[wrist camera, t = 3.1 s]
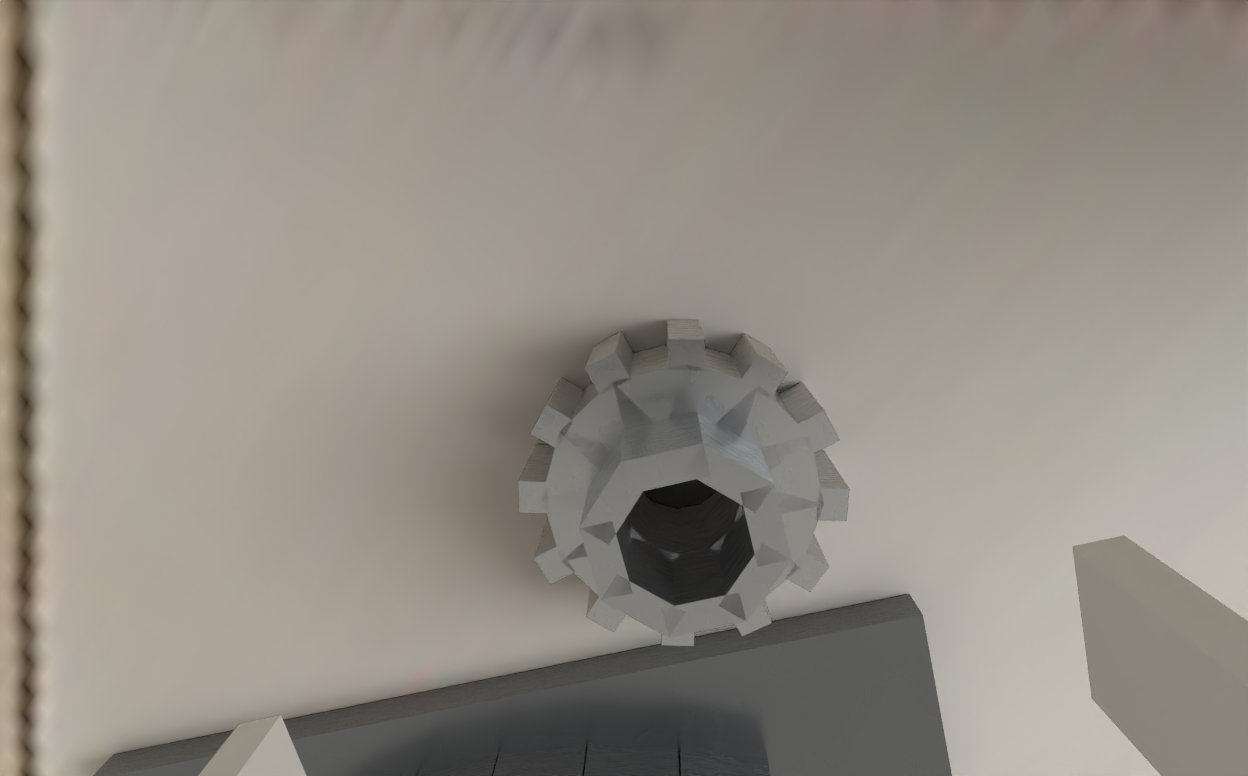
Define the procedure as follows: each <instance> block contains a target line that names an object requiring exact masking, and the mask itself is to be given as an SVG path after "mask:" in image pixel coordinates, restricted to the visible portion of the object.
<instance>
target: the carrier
mask: <svg viewBox="0 0 1248 776" xmlns="http://www.w3.org/2000/svg"><path fill="white" fill-rule="evenodd" d="M283 721H284V724H285V726H286V728H287V731H288V733H289V736H290V738H291V740H292V743H293V745H294V747H295V750H296V752H297V754H298V757H299V759H300V761H301V764H302V766H303V769H304V771H305V773H306V776H952V774H951V769H950V763H949V758H948V752H947V747H946V741H945V736H944V730H943V725H942V719H941V713H940V708H939V702H938V697H937V691H936V686H935V680H934V675H933V669H932V664H931V658H930V653H929V647H928V642H927V636H926V631H925V625H924V620H923V615H922V613H921V612H920V610H919V608H918V607H917V605H916V604H915V602H914V601H913V599H912V597H911V596H910V594H907V595H902V596H897V597H892V598H887V599H882V600H877V601H873V602H868V603H863V604H858V605H853V606H848V607H843V608H838V609H833V610H828V611H823V612H818V613H813V614H808V615H803V616H798V617H793V618H788V619H783V620H778V621H773V622H772V623H770V624H768V625H766V626H764V627H762V628H760V629H757V630H755V631H753V632H751V633H749V634H747V635H744V636H742V635H741V633H740V631H739V630H738V629H734V630H729V631H724V632H719V633H714V634H709V635H704V636H699V637H694V646H673V645H662V644H660V645H655V646H650V647H645V648H640V649H635V650H630V651H625V652H620V653H615V654H610V655H605V656H600V657H595V658H590V659H585V660H580V661H575V662H570V663H565V664H560V665H555V666H551V667H546V668H541V669H536V670H531V671H526V672H521V673H516V674H511V675H506V676H501V677H496V678H491V679H486V680H481V681H476V682H471V683H466V684H461V685H456V686H451V687H446V688H442V689H437V690H432V691H427V692H422V693H417V694H412V695H407V696H402V697H397V698H392V699H387V700H382V701H377V702H372V703H367V704H362V705H357V706H352V707H347V708H342V709H338V710H333V711H328V712H323V713H318V714H313V715H308V716H303V717H298V718H293V719H288V720H283ZM233 731H234V730H233ZM233 731H229V732H224V733H219V734H214V735H209V736H204V737H199V738H194V739H189V740H184V741H179V742H174V743H169V744H164V745H159V746H154V747H149V748H144V749H139V750H134V751H129V752H124V753H120V754H115V755H113V756H112V757H111V758H110V759H109V760H108V761H107V762H106V763H105V764H104V765H103V766H102V767H101V768H100V769H99V770H98V771H97V772H96V773H95V774H94V775H93V776H198V775H199V774H200V773H201V772H202V770H203V769H204V768H205V766H206V765H207V764H208V763H209V761H210V760H211V759H212V758H213V756H214V755H215V754H216V752H217V751H218V750H219V749H220V747H221V746H222V745H223V744H224V742H225V741H226V740H227V739H228V737H229V736H230V735H231V733H232V732H233Z"/></svg>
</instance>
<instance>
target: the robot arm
mask: <svg viewBox="0 0 1248 776" xmlns="http://www.w3.org/2000/svg"><path fill="white" fill-rule="evenodd" d="M1073 554H1074V562H1075V569H1076V577H1077V585H1078V593H1079V601H1080V609H1081V617H1082V625H1083V632H1084V640H1085V648H1086V656H1087V664H1088V672H1089V680H1090V688H1091V695H1092V699H1093V700H1094V701H1095V702H1096V704H1097V705H1098V706H1099V707H1100V708H1101V709H1102V710H1103V711H1104V712H1105V714H1106V715H1107V716H1108V717H1109V718H1110V719H1111V720H1112V721H1113V722H1114V724H1115V725H1116V726H1117V727H1118V728H1119V729H1120V730H1121V731H1122V732H1123V734H1124V735H1125V736H1126V737H1127V738H1128V739H1129V740H1130V741H1131V742H1132V744H1133V745H1134V746H1135V747H1136V748H1137V749H1138V750H1139V751H1140V752H1141V753H1142V755H1143V756H1144V757H1145V758H1146V759H1147V760H1148V761H1149V762H1150V763H1151V765H1152V766H1153V767H1154V768H1155V769H1156V770H1157V771H1158V772H1159V773H1160V775H1161V776H1248V621H1247V620H1245V619H1244V618H1242V617H1241V616H1239V615H1238V614H1237V613H1235V612H1234V611H1232V610H1231V609H1229V608H1228V607H1226V606H1225V605H1224V604H1222V603H1221V602H1219V601H1218V600H1216V599H1215V598H1213V597H1212V596H1211V595H1209V594H1208V593H1206V592H1205V591H1203V590H1202V589H1200V588H1199V587H1198V586H1196V585H1195V584H1193V583H1192V582H1190V581H1189V580H1187V579H1186V578H1185V577H1183V576H1182V575H1180V574H1179V573H1177V572H1176V571H1174V570H1173V569H1172V568H1170V567H1169V566H1167V565H1166V564H1164V563H1163V562H1161V561H1160V560H1159V559H1157V558H1156V557H1154V556H1153V555H1151V554H1150V553H1148V552H1147V551H1146V550H1144V549H1143V548H1141V547H1140V546H1138V545H1137V544H1135V543H1134V542H1133V541H1131V540H1130V539H1128V538H1127V537H1125V536H1120V537H1115V538H1110V539H1105V540H1101V541H1096V542H1091V543H1087V544H1082V545H1077V546H1073ZM198 776H306V773H305V771H304V769H303V766H302V764H301V761H300V759H299V757H298V754H297V752H296V750H295V747H294V745H293V743H292V740H291V738H290V736H289V733H288V731H287V728H286V726H285V724H284V721H283V719H282V717H281V715H278V716H273V717H269V718H264V719H259V720H254V721H250V722H245V723H240V724H239V725H238V726H237V727H236V728H235V730H234V731H233V732H232V733H231V735H230V736H229V737H228V739H227V740H226V741H225V742H224V744H223V745H222V746H221V747H220V749H219V750H218V751H217V752H216V754H215V755H214V756H213V758H212V759H211V760H210V761H209V763H208V764H207V765H206V766H205V768H204V769H203V770H202V772H201V773H200V774H199V775H198Z"/></svg>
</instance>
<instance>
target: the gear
mask: <svg viewBox="0 0 1248 776" xmlns="http://www.w3.org/2000/svg"><path fill="white" fill-rule="evenodd" d="M704 343H705V339H704V336H703V333H702V330H701V327H700V324H699V321H698V320H667V345H664V346H660V347H656V348H652V349H648V350H644V351H640V352H636V353H633V351H632V350H631V348H630V346H629V344H628V343H627V341H626V339H625V337H624V336H623V334H622V332H621V331H620V332H619V333H617V334H615V335H613V336H611V337H610V338H608V339H606V340H604V341H602V342H600V343H599V344H597V345H595V346H594V348H593V350H592V352H591V355H590V357H589V359H588V362H587V364H586V366H585V371H586V372H587V374H588V376H589V378H590V379H591V381H592V382H591V383H590V384H589V385H588V386H587V387H586V388H585V389H584V390H582V389H580V388H579V387H577V386H575V385H573V384H572V383H570V382H568V381H567V380H565V379H563V378H561V380H560V381H559V383H558V385H557V386H556V388H555V390H554V392H553V393H552V395H551V397H550V398H549V400H548V402H547V404H546V406H545V407H544V409H543V411H542V413H541V415H540V417H539V418H538V420H537V422H536V424H535V426H534V428H533V430H532V431H531V433H530V434H532V435H534V436H535V437H537V438H539V439H541V440H542V441H544V442H546V443H548V444H549V445H536V446H535V448H534V450H533V452H532V454H531V456H530V458H529V460H528V462H527V464H526V466H525V468H524V470H523V472H522V474H521V476H520V478H519V481H518V493H519V513H547V516H548V518H547V521H546V524H545V526H544V529H543V532H542V535H541V538H540V541H539V544H538V547H537V550H536V552H535V555H534V560H535V561H536V563H537V564H538V566H539V567H540V569H541V571H542V572H543V574H544V575H545V577H546V578H547V580H548V581H549V583H550V584H552V583H554V582H556V581H558V580H560V579H562V578H564V577H566V576H568V575H570V574H572V573H574V574H575V575H576V576H578V577H579V578H580V579H581V580H582V581H583V582H584V583H585V584H586V585H587V586H588V587H589V588H590V589H591V591H590V597H589V603H588V608H587V614H586V617H587V618H589V619H590V620H592V621H594V622H596V623H598V624H600V625H601V626H603V627H605V628H607V629H609V630H611V631H612V632H614V631H615V630H616V628H617V627H618V625H619V624H620V622H621V621H622V619H623V618H624V616H625V615H628V616H630V617H632V618H634V619H636V620H637V621H639V622H641V623H643V624H645V625H647V626H648V627H650V628H652V629H654V630H656V631H657V632H659V633H661V642H662V645H673V646H694V632H699V631H704V630H709V629H714V628H719V627H724V626H729V625H734V624H735V625H736V626H737V628H738V630H739V631H740V633H741V635H742V636H744V635H747V634H749V633H751V632H753V631H755V630H757V629H760V628H762V627H764V626H766V625H768V624H770V623H772V622H771V618H770V615H769V611H768V607H767V603H766V600H765V597H766V596H767V595H768V594H769V593H770V592H772V591H773V590H774V589H775V588H777V587H778V586H779V585H780V584H782V583H783V582H784V581H785V580H786V579H788V580H790V581H791V582H793V583H795V584H797V585H799V586H800V587H802V588H804V589H806V590H807V591H809V592H811V590H812V589H813V587H814V586H815V585H816V583H817V582H818V581H819V579H820V578H821V577H822V575H823V574H824V573H825V571H826V570H827V569H828V567H829V565H828V563H827V561H826V559H825V557H824V554H823V552H822V550H821V548H820V546H819V544H818V542H817V539H816V537H815V535H814V530H815V527H816V525H817V522H818V520H830V521H847V512H848V501H849V490H850V489H849V487H848V486H847V484H846V483H845V481H844V480H843V478H842V477H841V475H840V474H839V472H838V471H837V469H836V468H835V466H834V465H833V463H832V462H831V460H830V459H829V457H828V456H827V454H826V453H825V451H819V450H821V449H823V448H825V447H827V446H829V445H831V444H833V443H835V442H837V441H839V440H840V439H839V438H838V436H837V434H836V432H835V430H834V428H833V426H832V424H831V422H830V420H829V418H828V417H827V415H826V413H825V411H824V409H823V408H822V407H821V406H820V404H819V403H818V402H817V400H816V399H815V398H814V397H813V395H812V394H811V393H810V392H809V390H808V389H807V388H806V386H805V385H804V384H803V383H802V382H801V383H799V384H797V385H795V386H793V387H791V388H789V389H787V390H785V391H784V392H782V393H780V394H779V393H778V392H777V391H776V390H777V388H778V387H779V385H780V384H781V382H782V381H783V379H784V378H785V376H786V375H787V373H788V372H787V370H786V369H785V368H784V366H783V365H782V364H781V362H780V361H779V360H778V358H777V357H776V356H775V354H774V353H773V352H772V350H771V349H770V348H768V347H767V346H765V345H763V344H762V343H760V342H758V341H757V340H755V339H753V338H752V337H750V336H748V335H747V334H745V333H744V334H743V336H742V337H741V339H740V340H739V342H738V343H737V345H736V346H735V348H734V350H733V351H732V353H731V354H726V353H723V352H719V351H716V350H712V349H708V348H705V347H704ZM695 479H697V480H699V481H701V482H702V483H704V484H706V485H708V486H709V487H711V488H713V489H715V490H716V492H715V493H714V494H713V495H712V496H711V497H710V498H708V499H707V500H706V501H705V502H704V503H702V504H698V505H693V506H689V507H684V508H679V509H676V508H672V507H669V506H665V505H661V504H658V503H654V502H652V501H651V500H650V499H649V498H648V497H647V496H646V495H645V494H644V493H643V491H646V490H651V489H655V488H660V487H664V486H669V485H673V484H678V483H682V482H686V481H691V480H695Z"/></svg>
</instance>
